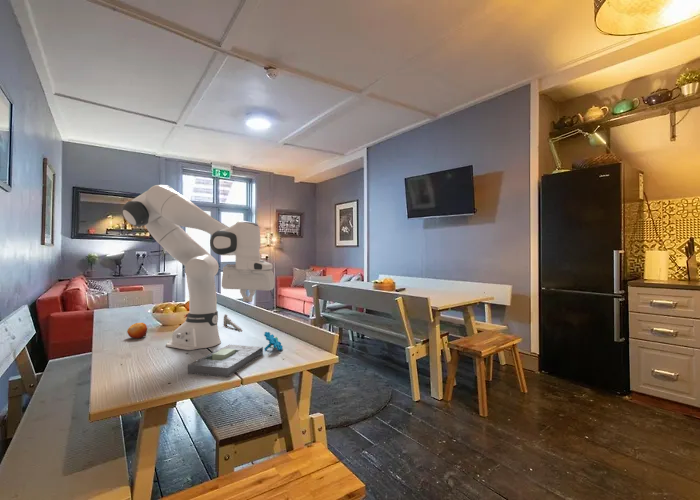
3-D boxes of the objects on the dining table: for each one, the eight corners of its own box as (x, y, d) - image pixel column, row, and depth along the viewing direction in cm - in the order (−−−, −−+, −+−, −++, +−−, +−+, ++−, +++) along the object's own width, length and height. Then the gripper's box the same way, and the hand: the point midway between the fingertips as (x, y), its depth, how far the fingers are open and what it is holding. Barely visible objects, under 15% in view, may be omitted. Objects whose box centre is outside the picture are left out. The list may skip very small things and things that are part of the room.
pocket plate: (188, 373, 113) (188, 364, 113) (229, 352, 137) (229, 344, 137) (227, 377, 110) (227, 368, 110) (262, 354, 133) (262, 347, 133)
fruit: (154, 333, 162) (145, 320, 159) (139, 344, 157) (130, 332, 153) (146, 330, 167) (137, 318, 163) (131, 342, 161) (121, 329, 157)
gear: (280, 350, 134) (263, 331, 135) (269, 360, 133) (252, 342, 135) (286, 345, 145) (271, 329, 146) (277, 355, 144) (261, 338, 146)
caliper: (223, 325, 185) (223, 314, 185) (225, 325, 186) (225, 313, 186) (240, 332, 170) (240, 319, 170) (242, 331, 171) (242, 319, 171)
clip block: (224, 366, 120) (212, 365, 121) (235, 359, 126) (223, 358, 128) (224, 355, 120) (212, 354, 121) (235, 349, 126) (223, 348, 128)
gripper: (218, 264, 124) (217, 301, 124) (268, 265, 119) (268, 304, 120) (228, 263, 130) (227, 299, 130) (276, 264, 126) (276, 301, 126)
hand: (247, 301), depth 125 cm, fingers closed
